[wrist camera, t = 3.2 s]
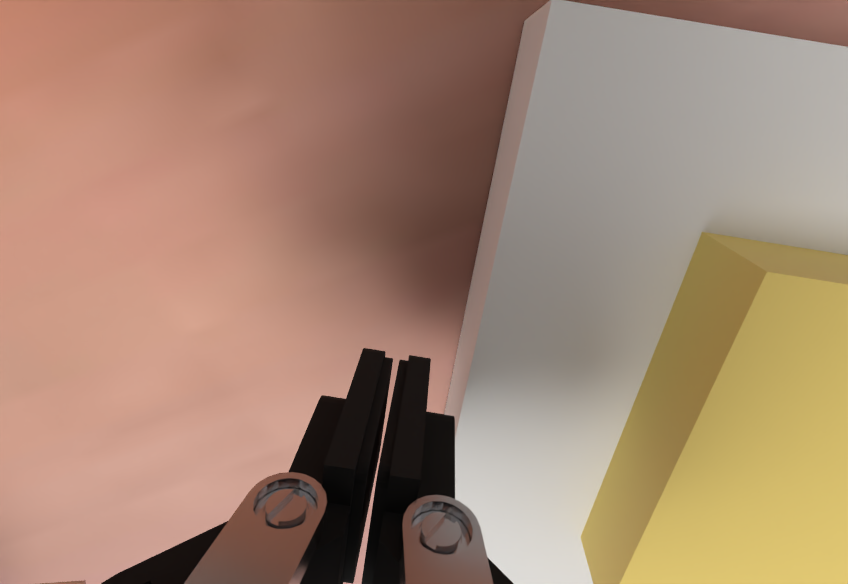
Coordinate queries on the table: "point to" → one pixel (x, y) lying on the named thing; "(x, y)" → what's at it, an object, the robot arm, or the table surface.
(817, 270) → the tile
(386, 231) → the table surface
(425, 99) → the table surface
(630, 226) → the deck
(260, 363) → the table surface
